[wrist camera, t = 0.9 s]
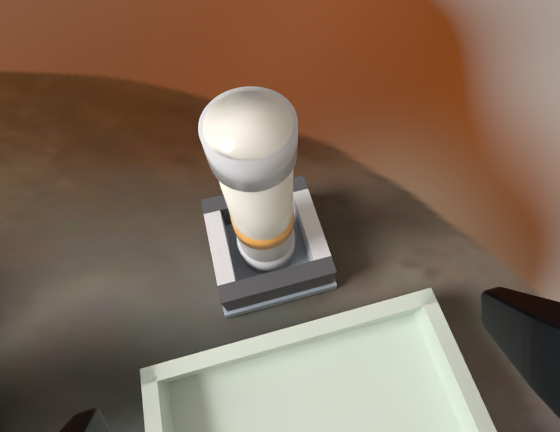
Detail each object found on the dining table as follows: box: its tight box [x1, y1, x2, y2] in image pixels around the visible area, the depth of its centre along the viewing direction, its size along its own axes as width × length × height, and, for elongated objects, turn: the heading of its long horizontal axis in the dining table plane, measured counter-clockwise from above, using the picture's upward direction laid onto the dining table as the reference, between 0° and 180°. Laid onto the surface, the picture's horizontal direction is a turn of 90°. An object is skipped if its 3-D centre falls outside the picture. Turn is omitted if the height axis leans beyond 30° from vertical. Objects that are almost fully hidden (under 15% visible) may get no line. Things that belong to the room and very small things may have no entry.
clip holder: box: [201, 176, 337, 318], centre depth 23 cm, size 7×7×3 cm
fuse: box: [198, 86, 298, 274], centre depth 18 cm, size 4×4×12 cm
